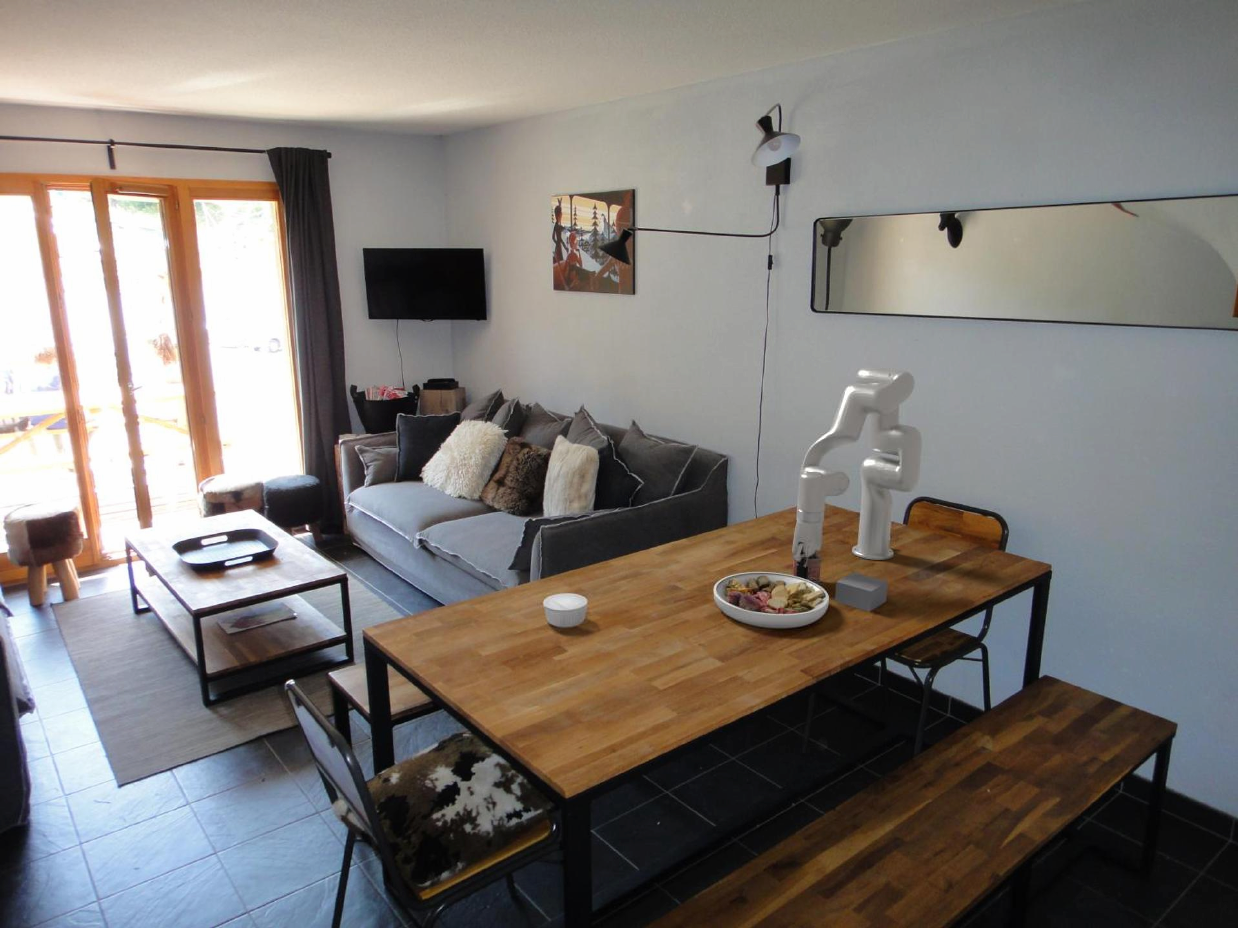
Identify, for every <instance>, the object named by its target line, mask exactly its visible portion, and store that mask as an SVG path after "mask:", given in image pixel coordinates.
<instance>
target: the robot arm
mask: <svg viewBox="0 0 1238 928" xmlns="http://www.w3.org/2000/svg"><path fill="white" fill-rule="evenodd" d="M855 380H856V383H851V384H849V385H847V386H846V387H845V388H844V390H843V392H842V395H841V397H840V400H839V403H838V406H837V409H836V412H835V415H834V418H833V420H832V423H831V426H830V428H829V430H828V431H827V432H826V433H825V434H823V435H822V436H820V437H819V438H818V439H817V440H816V441H815V442H814V443H812V445H811V446H810V447H809V449H808V450H807V452H806V453H805V456H804V458H803V461H802V463H801V467H800V470H799V476H798V488H797V489H798V490H797V504H796V505H797V507H796V519H795V520H796V524H795V528H794V532H793V541H792V548H791V549H792V550H791V551H792V552H791V553H792V554H793V556H794V555H795V560H796V562H797V575H796V577H800V578H803V579H806V580H807V579H808V566H807V563H808V558H809V556H811V555H813V556H814V553H815V551H817V550H818V552H819V551H820V550H821V548H822V542H823V541H822V540H823V523H824V521H825V520H824V519H825V508H826V507H825V506H826V505H825V504H826V497H838V496H839V497H840V496H841V495H843V494H845V493H846V492H847V490H848V489H849V486H850V477H849V476H848V475H847V473H846V472H845V471H843V470H839V469H836V468H831V467H827V466H823V465H820V463H821V461H822V460H823V458H824V457H825V456H826V455H827V454H828V453H830V452H831V451H833V450H835V449H837V448H838V449H839V448H841V447H843V446H847V445H851V444H854V443H856V442H858V440H860V436H861V432H862V431H863V427H864V424H865V421H866V420H867V416H868V415H869V421H868V435H867V436H868V437H867V439H868V441H867V443H868V446H869V447H868V448H870V449H871V450H872V451H874V452H876V453H881V454H885V455H886V454H887V455H892V456H897V457H898V458H899V459H898V458H893V457H888V456H882V455H869V456H868V457H866V458H865V459H863V461H862V462H861V465H860V471H859V472H860V483H861V498H860V499H861V501H860V513H859V522H858V524H859V526H858V538H857V544H856V545H854V546H853V547H852V549H851V552H852V554H854V555H855V556H857V557H860V558H862V559H866V560H873V561H881V560H882V561H885V560H889V559H891V558H893V557H894V551H893V549H891V548H890V541H891V530H892V529H891V527H892V516H893V507H894V499H893V496H892V493H891V491H895V492H900V493H911V492H913V491H914V490H915V489H916V487H917V486H918V483H919V478H920V470H921V459H922V448H923V439H922V434H921V432H920V430H919V429H918V428H917V427H915V426H913V425H909V424H908V425H906V424H901V423H900V419H899V418H900V406H901V405H902V404H903V403H904V402H905V401H907V400H908V398H909V397H910V396H911V395H912V393H913V391H914V388H915V378H914V376H913V375H912V373H910V371H907V370H901V369H892V368H887V367H886V368H885V367H877V366H876V367H874V366H865V367H862V368H860V369H859V370H857V373H856V376H855ZM802 553H805V555H804V554H803V555H802ZM801 557H803V558H805V561H804V560H803V559H802V558H801Z"/></svg>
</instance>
